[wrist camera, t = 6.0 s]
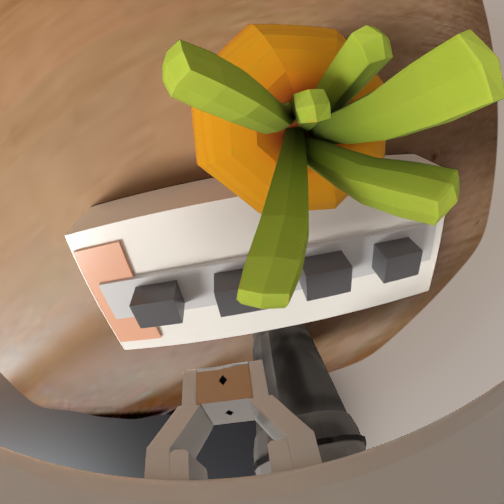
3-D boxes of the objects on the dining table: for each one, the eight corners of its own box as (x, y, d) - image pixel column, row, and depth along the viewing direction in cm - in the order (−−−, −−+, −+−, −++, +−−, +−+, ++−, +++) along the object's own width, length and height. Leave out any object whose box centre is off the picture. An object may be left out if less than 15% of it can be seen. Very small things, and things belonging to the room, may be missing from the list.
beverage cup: (329, 299, 23) (427, 544, 6) (311, 356, 26) (369, 553, 9) (238, 302, 22) (280, 593, 5) (235, 361, 25) (263, 578, 8)
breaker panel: (90, 206, 17) (48, 255, 11) (413, 153, 17) (471, 182, 12) (134, 311, 21) (119, 372, 16) (403, 261, 22) (442, 307, 17)
